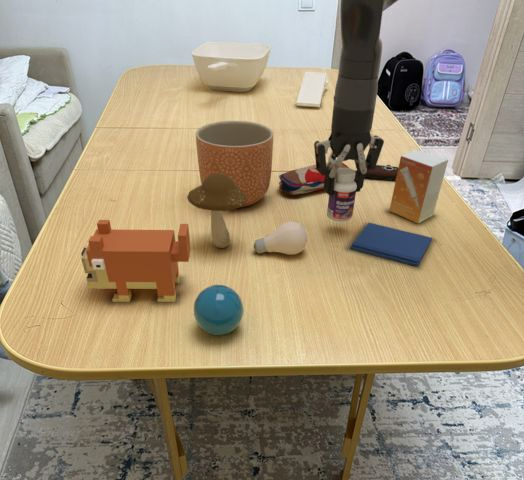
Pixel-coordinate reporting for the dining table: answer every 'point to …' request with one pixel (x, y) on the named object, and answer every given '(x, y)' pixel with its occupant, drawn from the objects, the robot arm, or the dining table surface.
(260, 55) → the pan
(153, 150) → the dining table surface
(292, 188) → the pencil case
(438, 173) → the small box
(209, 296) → the ball
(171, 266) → the toy character
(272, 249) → the light bulb
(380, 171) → the camera
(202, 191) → the mushroom
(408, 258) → the book
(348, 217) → the pill bottle
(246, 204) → the planter
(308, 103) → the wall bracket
